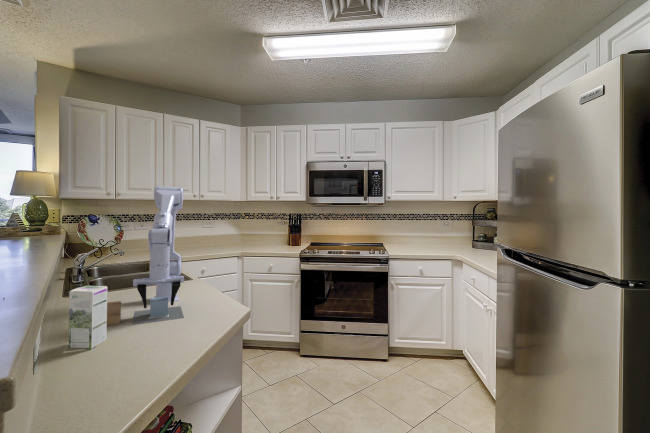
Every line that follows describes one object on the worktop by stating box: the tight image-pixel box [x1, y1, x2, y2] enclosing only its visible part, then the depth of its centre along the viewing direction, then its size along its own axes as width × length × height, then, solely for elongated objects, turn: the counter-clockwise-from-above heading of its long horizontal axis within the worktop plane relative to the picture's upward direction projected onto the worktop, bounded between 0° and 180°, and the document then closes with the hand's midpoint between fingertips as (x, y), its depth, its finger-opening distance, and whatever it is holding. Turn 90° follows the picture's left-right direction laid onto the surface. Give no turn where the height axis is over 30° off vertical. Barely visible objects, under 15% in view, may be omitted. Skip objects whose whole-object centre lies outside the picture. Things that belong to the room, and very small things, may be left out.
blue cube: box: [149, 297, 169, 318], centre depth 99 cm, size 5×5×5 cm
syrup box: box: [68, 285, 108, 350], centre depth 77 cm, size 6×6×14 cm
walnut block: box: [107, 300, 122, 326], centre depth 92 cm, size 5×5×6 cm
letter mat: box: [132, 305, 185, 326], centre depth 99 cm, size 14×14×1 cm
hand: (158, 306), depth 99 cm, fingers open, 7 cm apart
